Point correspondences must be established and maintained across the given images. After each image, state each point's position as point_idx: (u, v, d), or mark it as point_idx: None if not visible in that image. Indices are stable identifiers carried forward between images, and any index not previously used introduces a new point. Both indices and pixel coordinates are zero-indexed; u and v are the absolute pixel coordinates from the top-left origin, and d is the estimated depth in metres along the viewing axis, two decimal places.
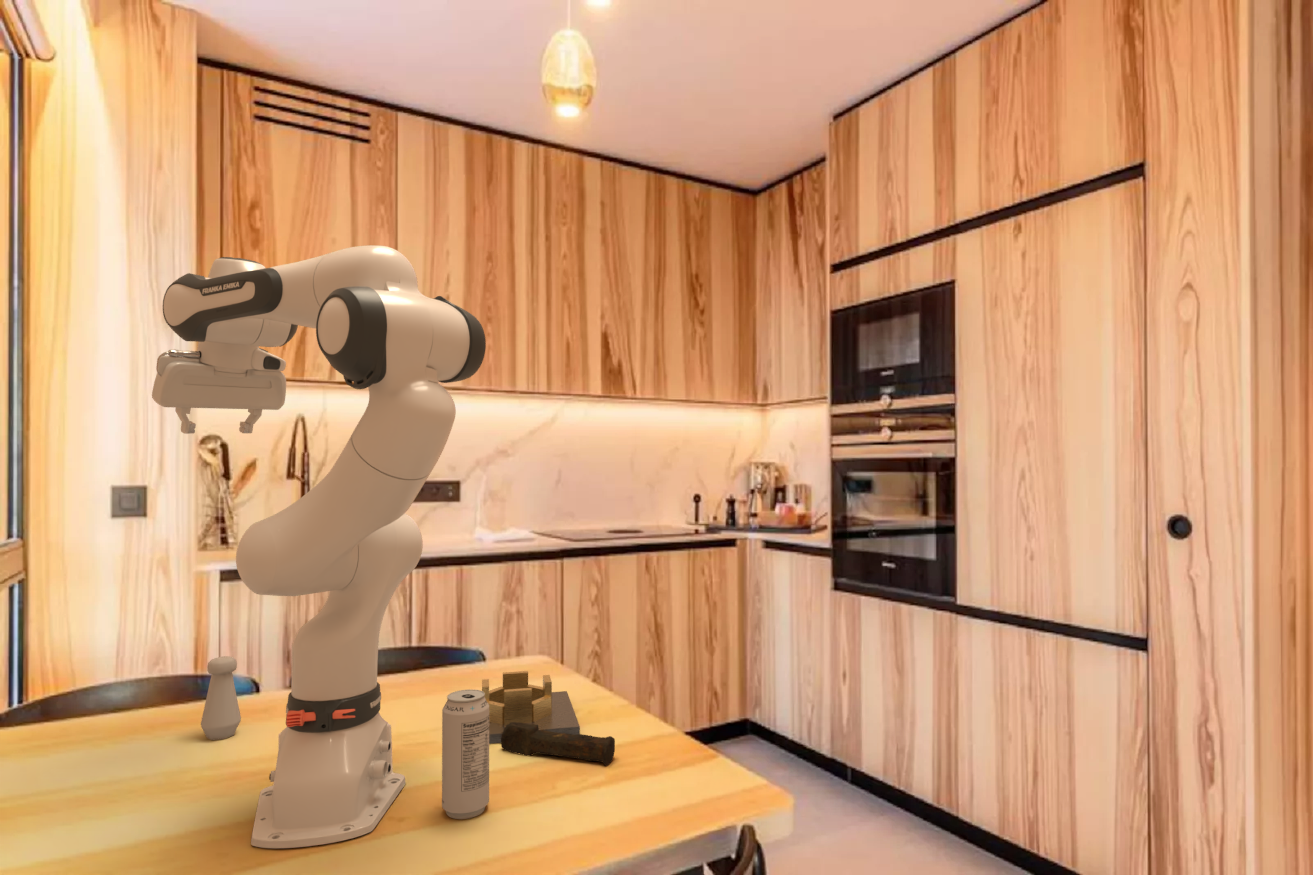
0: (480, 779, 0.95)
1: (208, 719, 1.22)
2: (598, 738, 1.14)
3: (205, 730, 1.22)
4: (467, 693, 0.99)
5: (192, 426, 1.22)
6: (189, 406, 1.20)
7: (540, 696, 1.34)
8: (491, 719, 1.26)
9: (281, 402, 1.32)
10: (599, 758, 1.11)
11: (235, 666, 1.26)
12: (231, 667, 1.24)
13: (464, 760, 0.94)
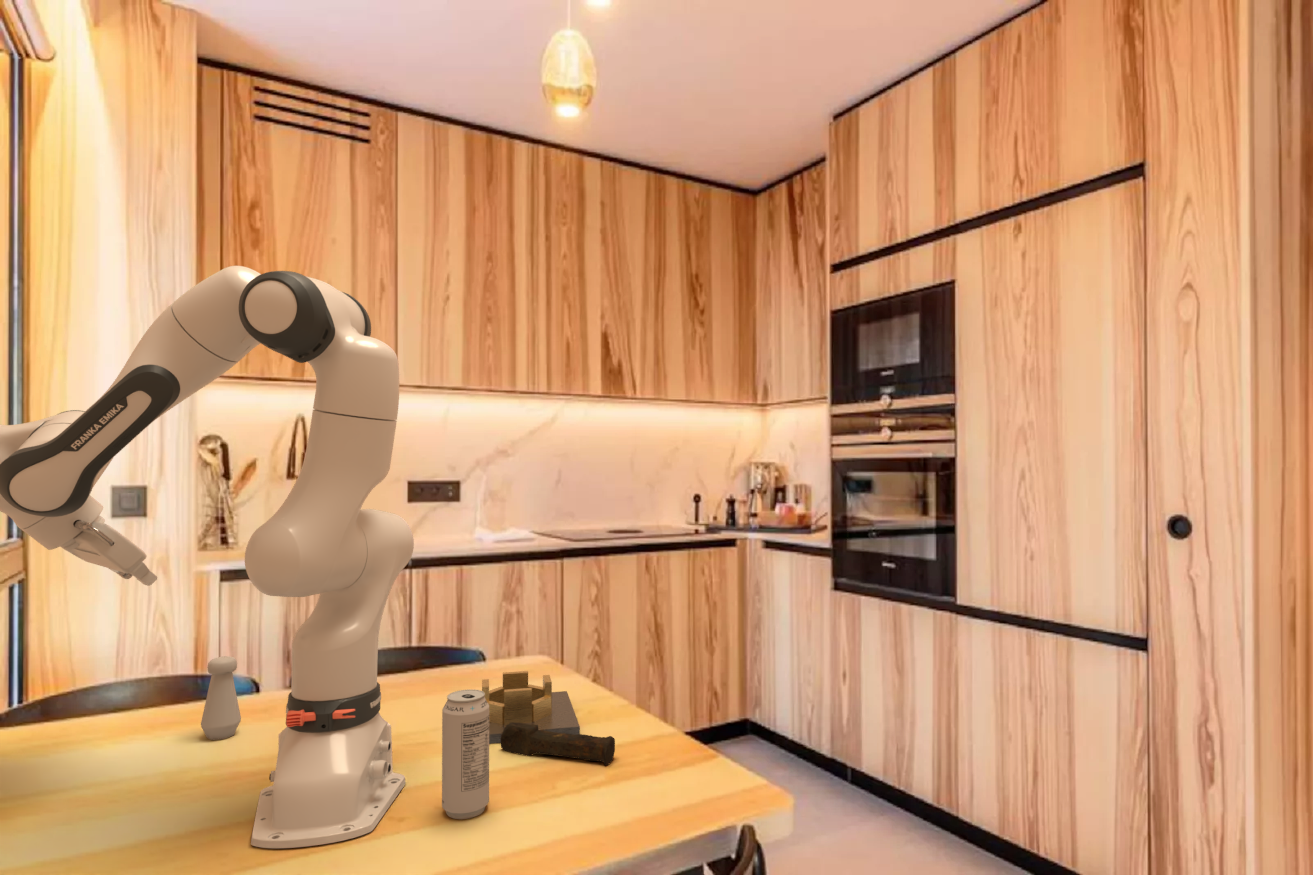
0: (480, 779, 0.95)
1: (208, 720, 1.22)
2: (598, 738, 1.14)
3: (205, 730, 1.22)
4: (467, 693, 0.99)
5: None
6: None
7: (540, 696, 1.34)
8: (491, 719, 1.26)
9: None
10: (599, 758, 1.12)
11: (235, 666, 1.26)
12: (231, 667, 1.24)
13: (464, 760, 0.94)
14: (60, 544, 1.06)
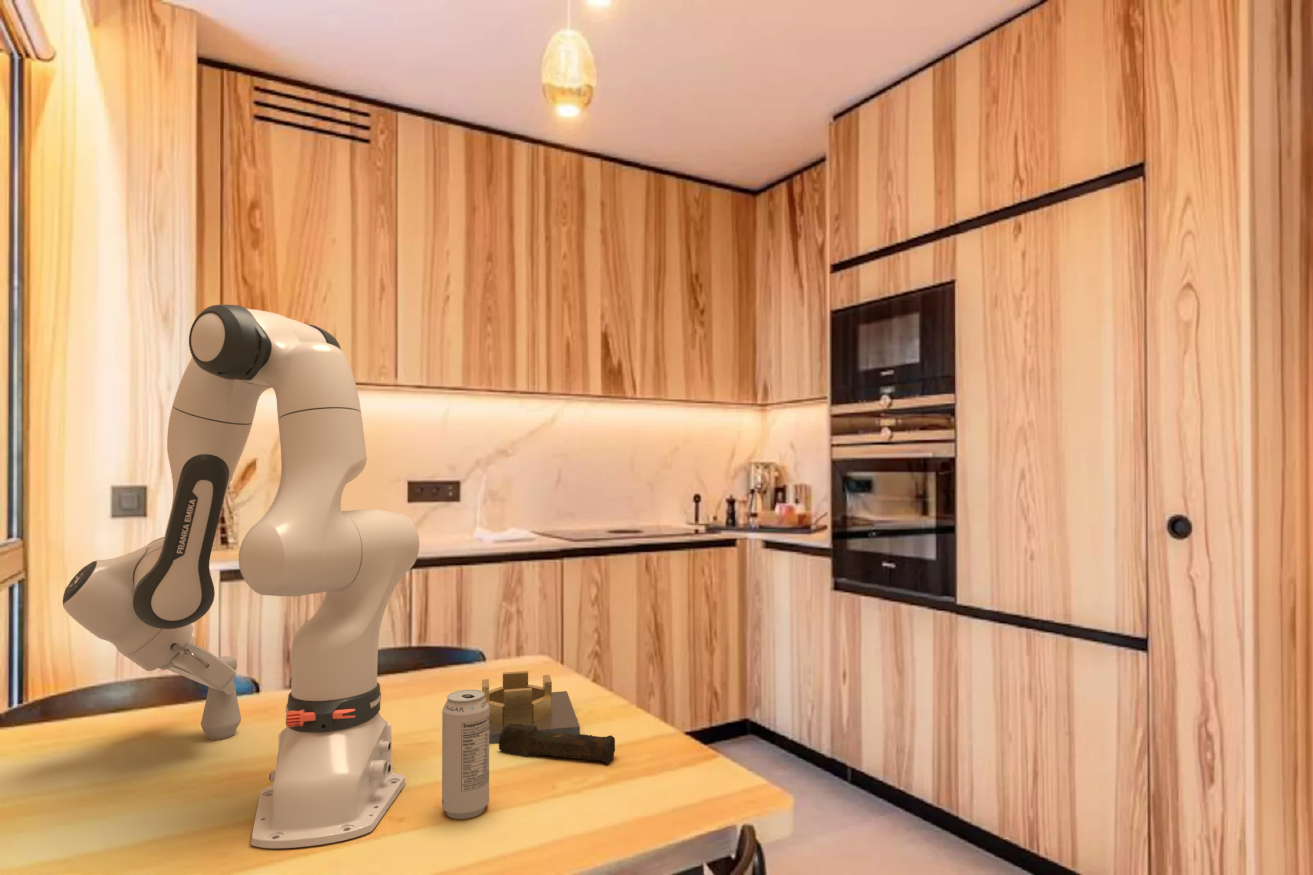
0: (480, 779, 0.95)
1: (208, 719, 1.22)
2: (598, 737, 1.14)
3: (205, 730, 1.22)
4: (467, 693, 0.99)
5: None
6: None
7: (540, 696, 1.34)
8: (491, 719, 1.26)
9: None
10: (600, 757, 1.12)
11: (235, 666, 1.26)
12: None
13: (464, 760, 0.94)
14: (158, 666, 1.15)
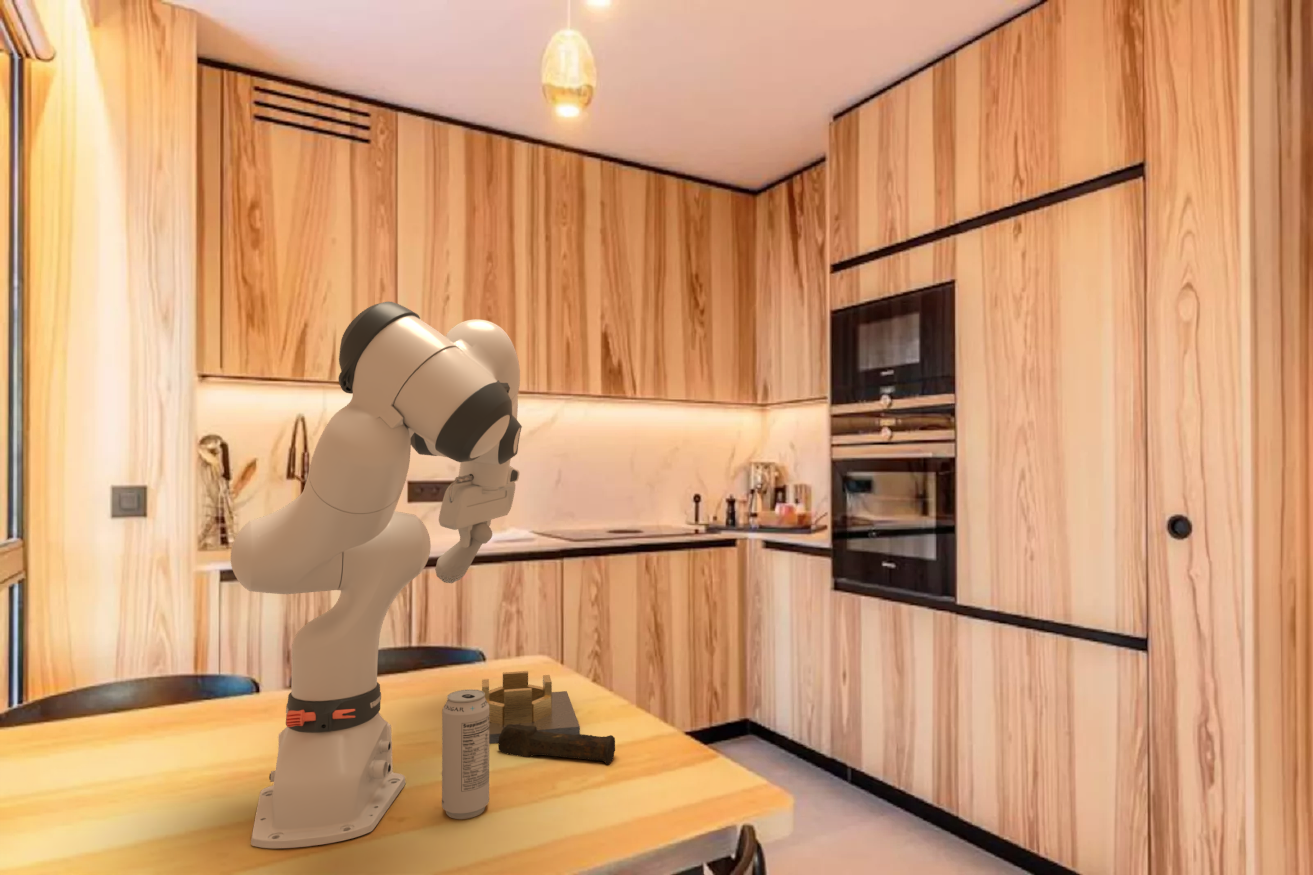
0: (480, 779, 0.95)
1: (443, 554, 1.38)
2: (599, 737, 1.14)
3: None
4: (467, 693, 0.99)
5: (471, 540, 1.36)
6: (467, 525, 1.32)
7: (540, 696, 1.34)
8: (491, 719, 1.26)
9: (510, 508, 1.46)
10: (601, 757, 1.12)
11: (481, 540, 1.36)
12: (477, 536, 1.35)
13: (464, 760, 0.94)
14: (458, 477, 1.35)
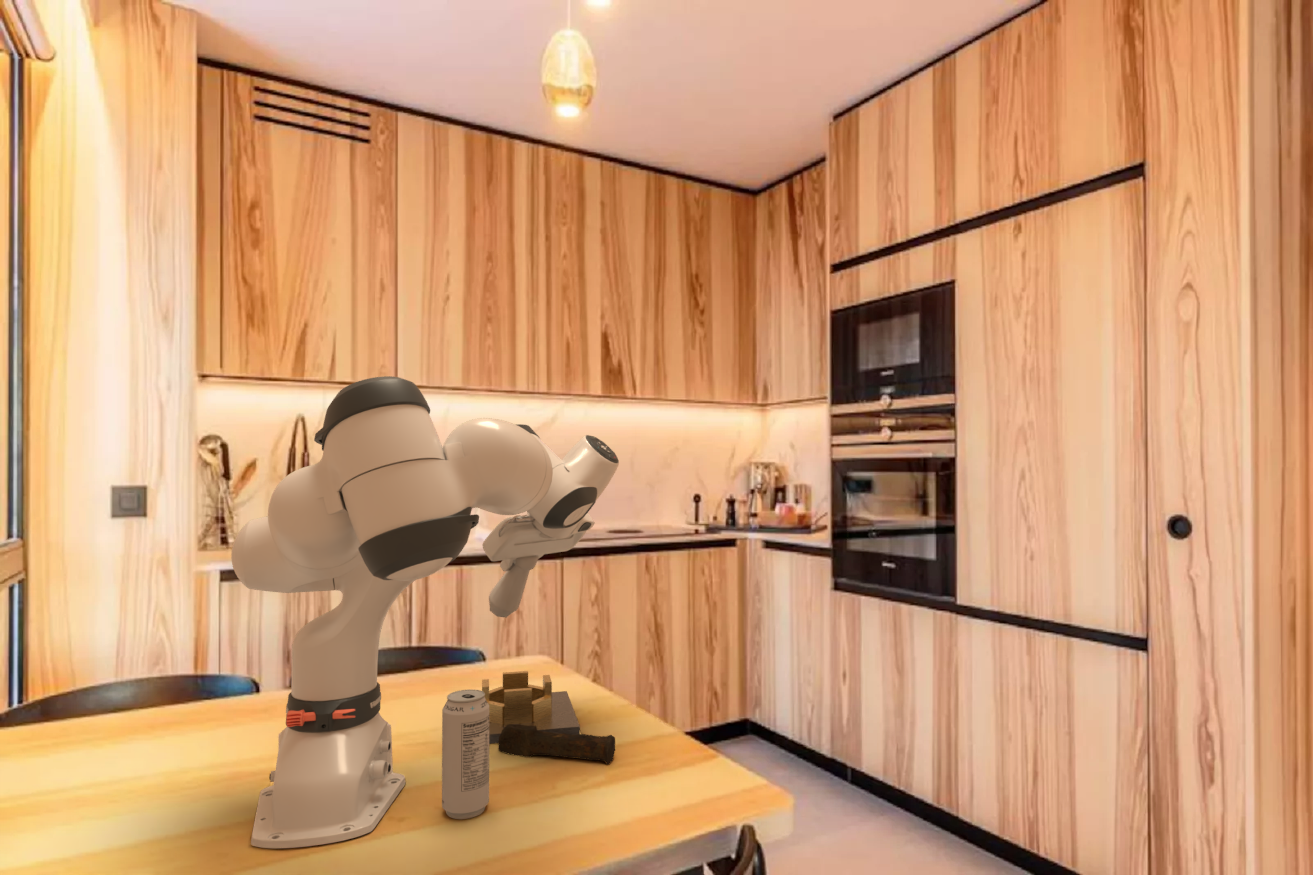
0: (480, 779, 0.95)
1: (494, 587, 1.33)
2: (599, 737, 1.14)
3: None
4: (467, 693, 0.99)
5: (511, 567, 1.30)
6: (508, 558, 1.25)
7: (540, 696, 1.34)
8: (491, 719, 1.26)
9: (572, 547, 1.37)
10: (601, 757, 1.12)
11: (523, 566, 1.29)
12: (518, 562, 1.29)
13: (464, 760, 0.94)
14: None
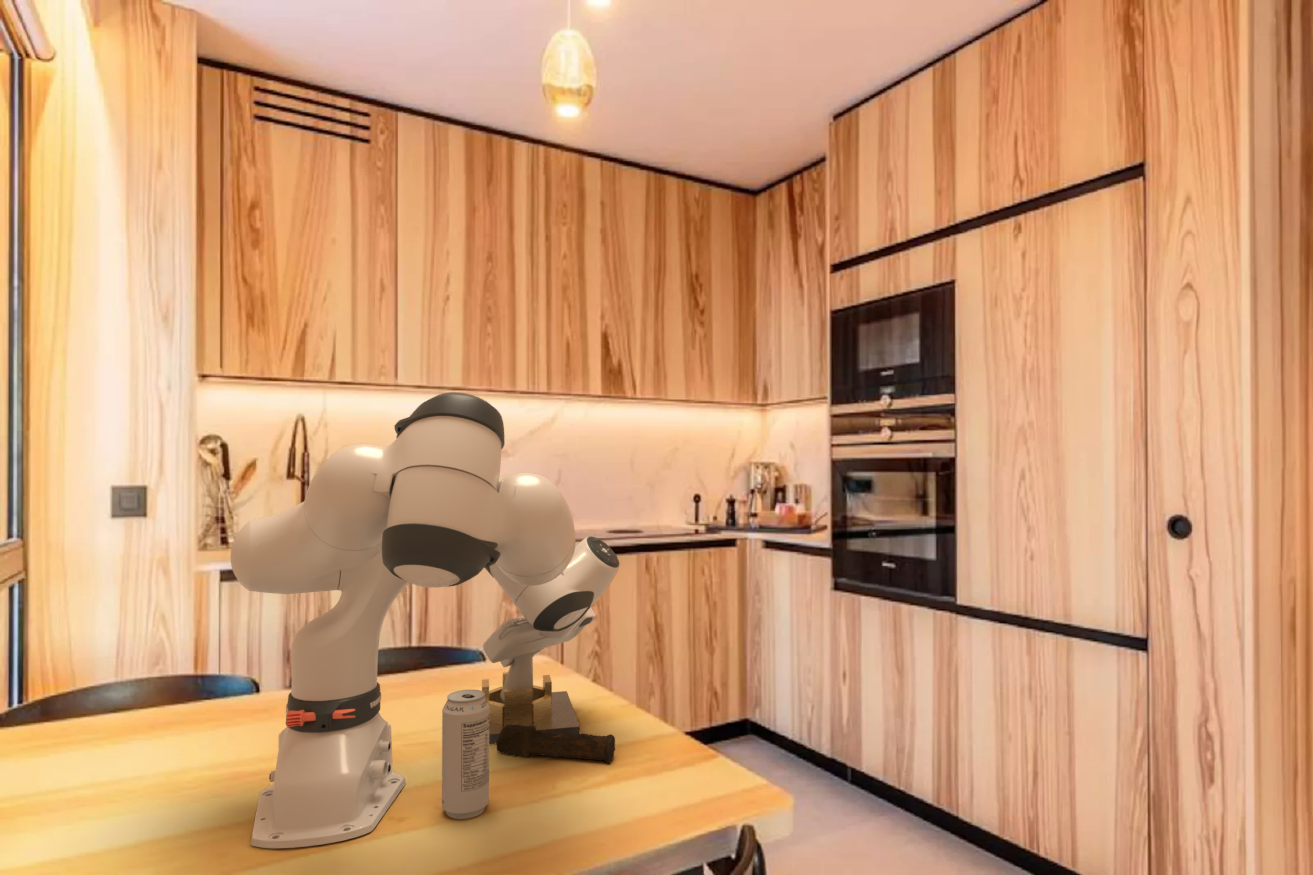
0: (480, 779, 0.95)
1: None
2: (599, 737, 1.14)
3: None
4: (467, 693, 0.99)
5: (511, 662, 1.29)
6: (509, 658, 1.25)
7: (540, 696, 1.34)
8: (491, 719, 1.26)
9: (573, 637, 1.36)
10: (601, 756, 1.12)
11: None
12: None
13: (464, 760, 0.94)
14: None
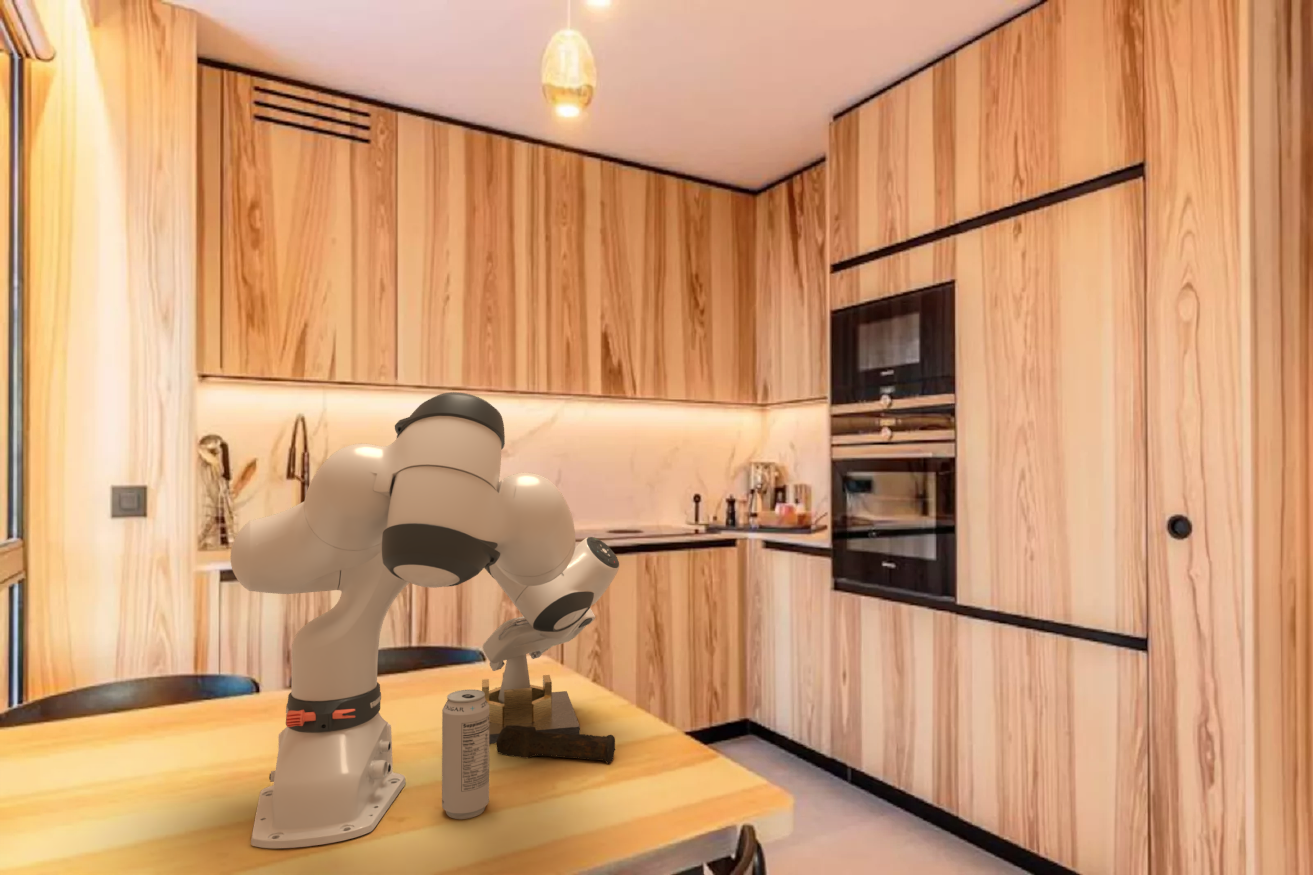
0: (480, 779, 0.95)
1: None
2: (599, 737, 1.14)
3: None
4: (467, 693, 0.99)
5: (501, 666, 1.27)
6: (509, 658, 1.25)
7: (540, 696, 1.34)
8: (491, 719, 1.26)
9: None
10: (602, 757, 1.12)
11: None
12: None
13: (464, 760, 0.94)
14: None
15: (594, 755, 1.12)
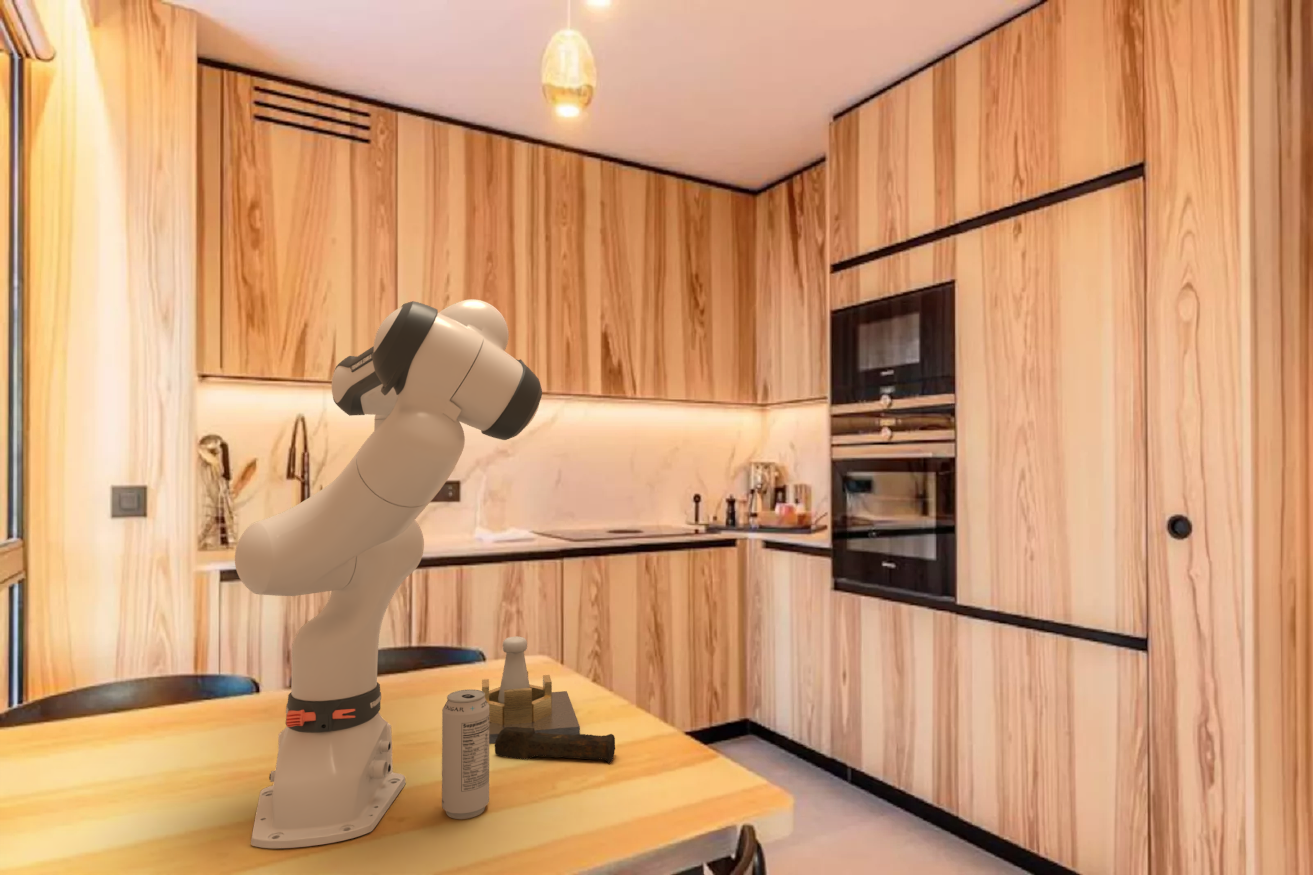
0: (480, 779, 0.95)
1: None
2: (599, 736, 1.14)
3: None
4: (467, 693, 0.99)
5: None
6: None
7: (540, 696, 1.34)
8: (491, 719, 1.26)
9: None
10: (602, 756, 1.12)
11: (514, 649, 1.30)
12: (508, 648, 1.30)
13: (464, 760, 0.94)
14: None
15: (595, 754, 1.12)
